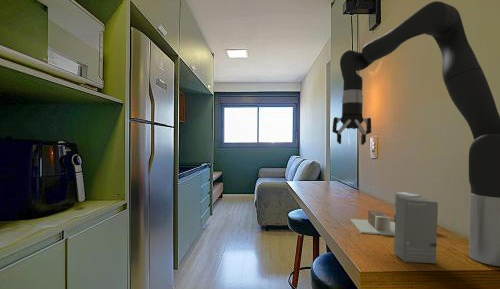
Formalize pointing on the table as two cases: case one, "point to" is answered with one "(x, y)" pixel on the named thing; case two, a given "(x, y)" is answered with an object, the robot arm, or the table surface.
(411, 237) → the skincare box
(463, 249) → the table surface
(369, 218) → the walnut block
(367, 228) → the mat
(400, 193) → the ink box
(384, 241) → the table surface
